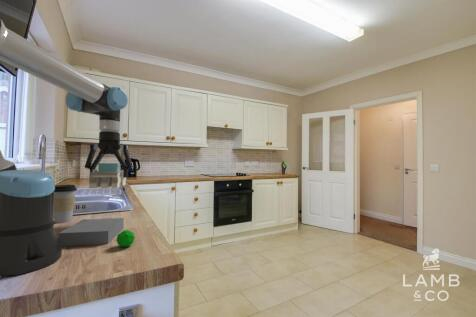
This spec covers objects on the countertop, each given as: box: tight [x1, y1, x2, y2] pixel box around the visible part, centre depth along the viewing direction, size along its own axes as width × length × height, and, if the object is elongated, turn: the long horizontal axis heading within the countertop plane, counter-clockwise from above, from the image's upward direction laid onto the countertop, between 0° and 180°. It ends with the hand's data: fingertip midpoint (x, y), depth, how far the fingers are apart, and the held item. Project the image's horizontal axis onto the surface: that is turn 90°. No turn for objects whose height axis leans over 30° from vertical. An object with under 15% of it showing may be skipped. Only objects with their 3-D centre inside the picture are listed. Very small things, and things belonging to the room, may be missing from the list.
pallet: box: [88, 170, 127, 189], centre depth 96 cm, size 12×10×6 cm
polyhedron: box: [116, 229, 136, 248], centre depth 71 cm, size 5×5×5 cm
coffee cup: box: [54, 184, 78, 224], centre depth 98 cm, size 9×9×15 cm
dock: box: [57, 217, 125, 247], centre depth 80 cm, size 16×14×4 cm
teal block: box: [97, 162, 120, 172], centre depth 96 cm, size 6×6×4 cm
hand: (108, 185), depth 96 cm, fingers closed on pallet, 10 cm apart
